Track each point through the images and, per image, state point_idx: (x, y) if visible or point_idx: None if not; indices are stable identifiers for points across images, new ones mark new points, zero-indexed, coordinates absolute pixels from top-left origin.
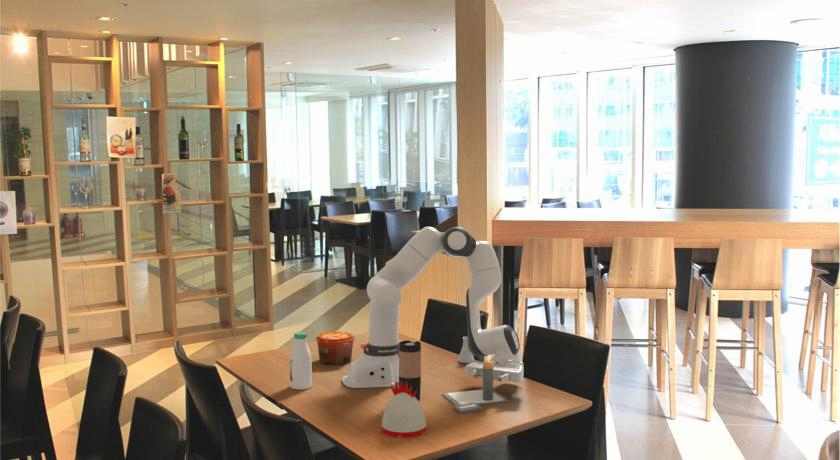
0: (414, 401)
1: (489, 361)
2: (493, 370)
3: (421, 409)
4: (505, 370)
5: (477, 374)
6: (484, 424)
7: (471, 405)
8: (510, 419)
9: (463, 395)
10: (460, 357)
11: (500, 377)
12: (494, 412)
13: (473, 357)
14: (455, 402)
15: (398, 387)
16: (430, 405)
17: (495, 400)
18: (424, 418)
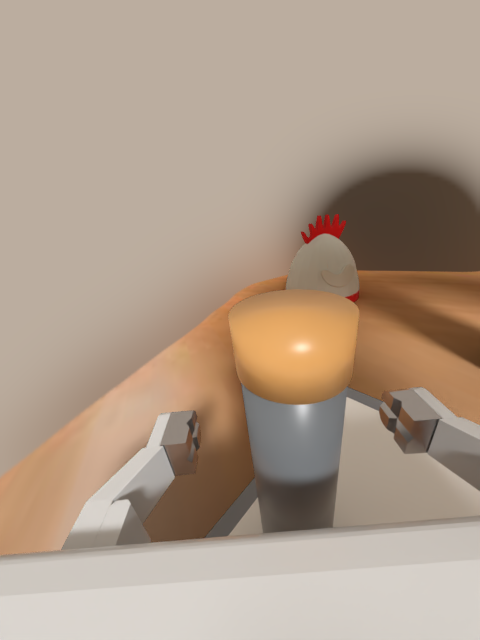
0: (300, 248)
1: (295, 323)
2: (304, 533)
3: (294, 266)
4: (104, 566)
5: (399, 418)
6: (212, 343)
7: None
8: (155, 384)
9: (466, 516)
10: None
11: (178, 412)
12: (209, 406)
13: None
14: (378, 406)
15: (333, 225)
16: (417, 366)
17: (242, 525)
18: (290, 281)
